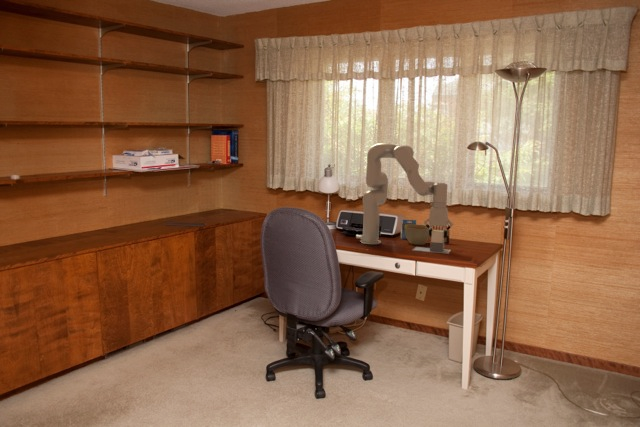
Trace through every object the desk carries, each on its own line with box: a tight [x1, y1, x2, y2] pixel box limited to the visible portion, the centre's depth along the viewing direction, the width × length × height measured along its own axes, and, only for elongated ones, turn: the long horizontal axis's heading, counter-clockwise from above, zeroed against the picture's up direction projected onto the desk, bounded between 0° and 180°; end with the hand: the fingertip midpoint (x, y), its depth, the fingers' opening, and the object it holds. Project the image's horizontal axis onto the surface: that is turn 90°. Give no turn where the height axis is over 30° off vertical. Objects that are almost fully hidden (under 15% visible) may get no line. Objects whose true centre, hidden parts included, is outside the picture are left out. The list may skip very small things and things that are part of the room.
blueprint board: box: [411, 246, 452, 255], centre depth 316 cm, size 20×12×1 cm, turn 71°
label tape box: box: [400, 219, 417, 240], centre depth 356 cm, size 9×4×12 cm, turn 93°
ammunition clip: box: [432, 223, 451, 245], centre depth 343 cm, size 11×2×12 cm, turn 75°
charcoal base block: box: [429, 241, 446, 253], centre depth 315 cm, size 7×7×5 cm
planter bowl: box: [405, 224, 431, 245], centre depth 336 cm, size 16×16×11 cm
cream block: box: [430, 229, 444, 243], centre depth 314 cm, size 6×6×6 cm
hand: (437, 236), depth 314 cm, fingers open, 7 cm apart
